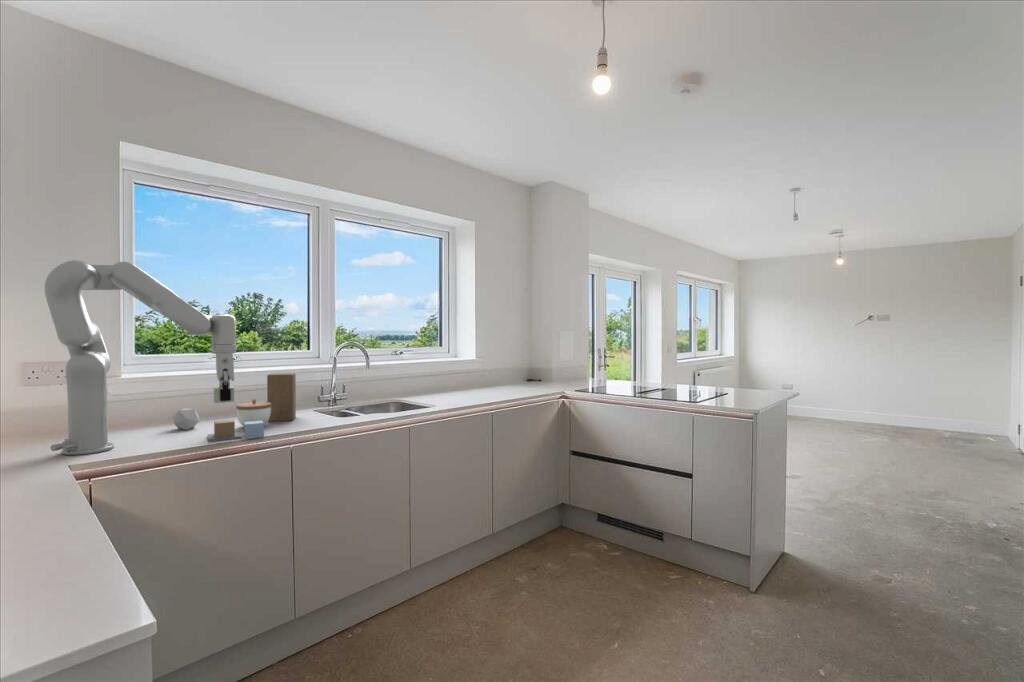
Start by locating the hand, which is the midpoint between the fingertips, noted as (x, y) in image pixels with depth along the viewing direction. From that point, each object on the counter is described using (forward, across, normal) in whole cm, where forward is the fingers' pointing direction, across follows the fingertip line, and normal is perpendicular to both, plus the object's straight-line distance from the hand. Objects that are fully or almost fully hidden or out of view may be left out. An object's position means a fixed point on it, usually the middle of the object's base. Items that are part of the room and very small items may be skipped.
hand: (224, 399), depth 177 cm
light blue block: (+14, -2, -9) cm, 17 cm away
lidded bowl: (+14, +17, -11) cm, 25 cm away
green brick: (+1, 0, 0) cm, 1 cm away
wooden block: (+14, +29, -23) cm, 40 cm away
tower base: (+14, 0, 0) cm, 14 cm away
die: (+14, +27, +12) cm, 32 cm away
